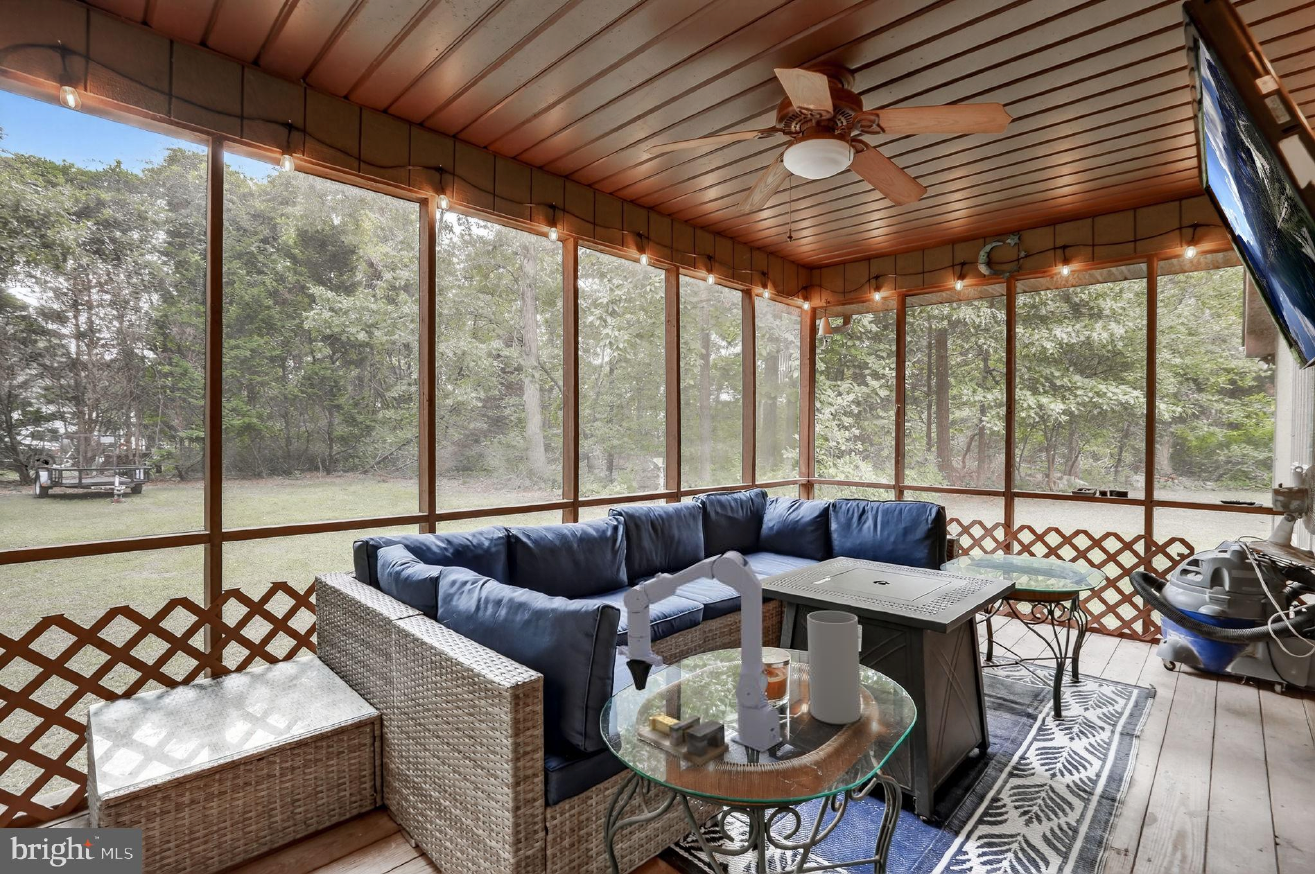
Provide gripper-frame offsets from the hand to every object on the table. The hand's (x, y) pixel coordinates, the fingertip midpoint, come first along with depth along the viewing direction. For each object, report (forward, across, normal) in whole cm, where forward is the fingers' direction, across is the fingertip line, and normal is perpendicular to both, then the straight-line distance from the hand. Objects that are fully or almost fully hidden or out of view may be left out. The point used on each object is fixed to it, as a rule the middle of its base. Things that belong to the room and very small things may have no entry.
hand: (640, 689), depth 161 cm
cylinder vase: (+10, +32, +38) cm, 51 cm away
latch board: (+9, +14, 0) cm, 17 cm away
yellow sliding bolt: (+8, +11, 0) cm, 13 cm away
